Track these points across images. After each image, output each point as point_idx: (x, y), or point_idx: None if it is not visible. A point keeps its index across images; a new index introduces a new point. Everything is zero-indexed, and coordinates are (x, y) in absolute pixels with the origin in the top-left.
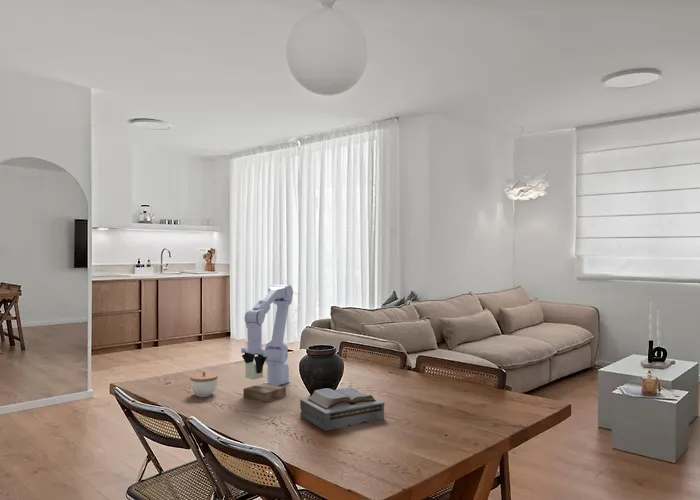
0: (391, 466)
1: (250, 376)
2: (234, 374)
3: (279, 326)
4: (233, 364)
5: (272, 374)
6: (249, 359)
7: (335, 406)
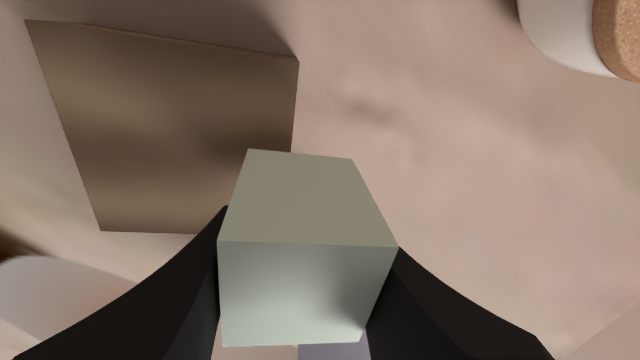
0: None
1: (291, 161)
2: (526, 295)
3: None
4: (564, 346)
5: None
6: (394, 332)
7: None
